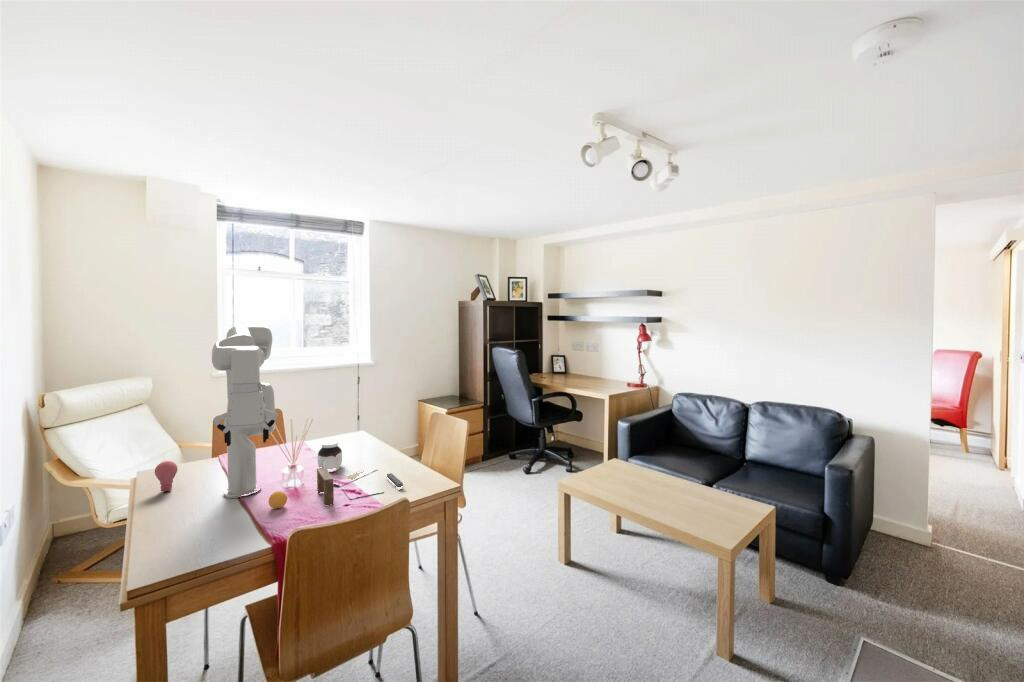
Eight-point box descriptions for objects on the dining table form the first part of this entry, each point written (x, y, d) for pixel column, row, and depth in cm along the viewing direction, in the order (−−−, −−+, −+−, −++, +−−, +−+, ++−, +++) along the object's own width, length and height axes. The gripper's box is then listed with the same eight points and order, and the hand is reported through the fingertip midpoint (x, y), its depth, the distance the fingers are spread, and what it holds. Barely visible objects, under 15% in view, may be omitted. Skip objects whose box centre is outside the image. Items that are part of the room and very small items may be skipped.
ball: (267, 506, 163) (267, 490, 163) (286, 503, 166) (286, 487, 166) (269, 512, 158) (269, 496, 158) (288, 509, 161) (288, 492, 161)
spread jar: (333, 463, 212) (332, 439, 211) (350, 467, 207) (350, 442, 206) (311, 471, 201) (311, 445, 201) (329, 475, 196) (328, 449, 196)
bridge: (325, 506, 164) (324, 480, 163) (317, 492, 176) (317, 468, 176) (333, 504, 165) (333, 478, 165) (325, 491, 178) (325, 467, 177)
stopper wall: (387, 479, 191) (386, 474, 191) (391, 478, 192) (391, 473, 192) (398, 490, 179) (398, 484, 179) (402, 489, 180) (402, 483, 180)
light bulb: (173, 486, 182) (172, 457, 181) (181, 490, 178) (180, 460, 178) (152, 492, 176) (151, 462, 175) (160, 496, 172) (159, 465, 172)
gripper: (278, 385, 145) (279, 437, 146) (214, 388, 138) (216, 443, 139) (276, 388, 138) (278, 443, 139) (210, 391, 131) (211, 449, 132)
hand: (247, 443), depth 139 cm, fingers open, 9 cm apart
